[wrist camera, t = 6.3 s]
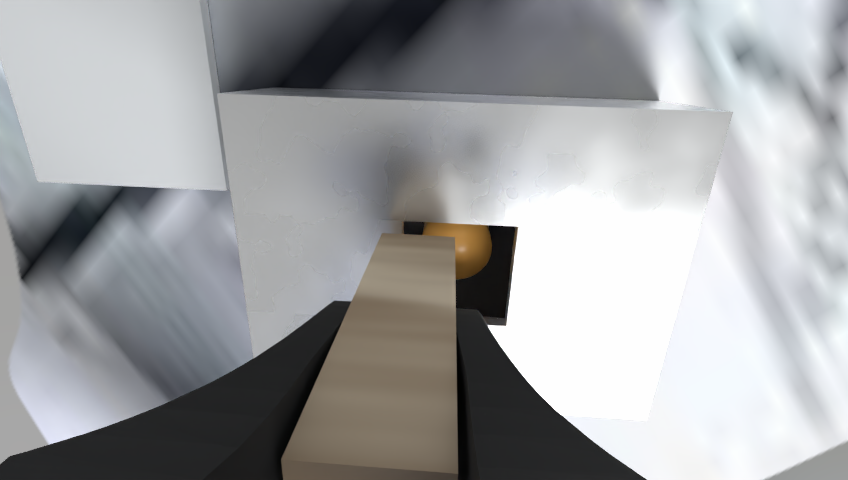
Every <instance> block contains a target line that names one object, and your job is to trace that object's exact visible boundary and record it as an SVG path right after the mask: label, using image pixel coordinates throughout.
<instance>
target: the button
mask: <svg viewBox="0 0 848 480" xmlns="http://www.w3.org/2000/svg"><path fill="white" fill-rule="evenodd" d="M422 235H428V236H446V237H455V274H456V279H465V278H468V277H471V276H473V275H475V274H477V273H478V272H480V271H481V270H482V269H483V268H484V267H485V266H486V264H487V263H488V261H489V259H490V256H491V252H492V240H491V236H490V231H489V226H488V225H475V224H454V223H434V222H425V223H424V228H423V233H422Z"/></svg>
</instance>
